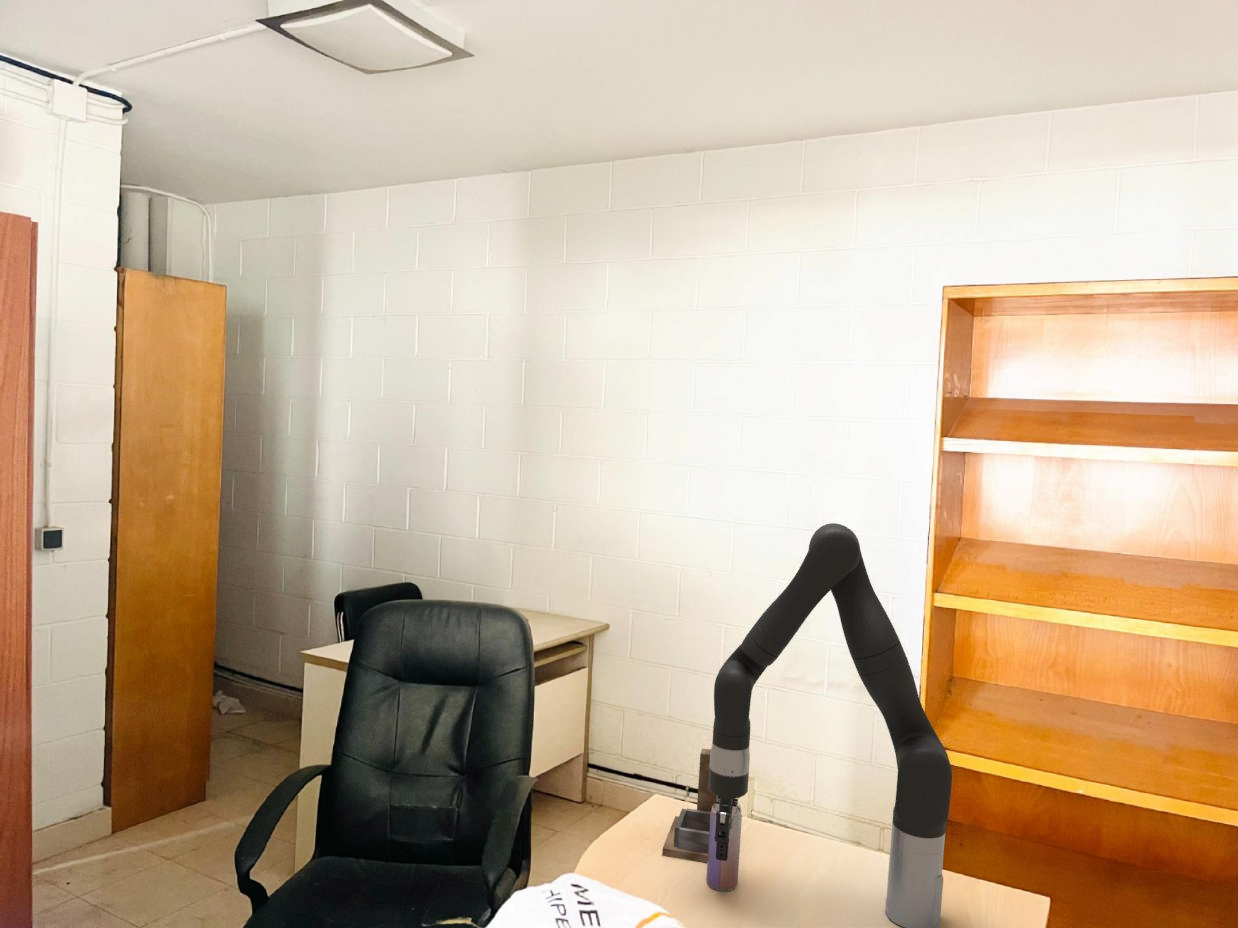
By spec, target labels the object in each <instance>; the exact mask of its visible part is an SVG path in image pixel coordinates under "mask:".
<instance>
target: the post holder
mask: <svg viewBox="0 0 1238 928" xmlns="http://www.w3.org/2000/svg"><path fill="white" fill-rule="evenodd" d="M710 753H711V749H709V748H701V751H700V755H699V770H698V787H697V803H696V805H697V806H696V809H694V808H688V807H687V808H682V809H681V811H680V812H679V813H680V814H679V815H678V816H677V815H675V816H674V818H673V822H672V823H671V826H670V828H669V831H668V834H667V835H666V838H665V842H664V844H663V845H662V851H661V853H662V856H665V857H670V858H675V859H682V860H687V861H693V862H699V863H700V862H701V863H705V864H707V862H708V847H709V831H710V815H711V810H712V806H713V805H714V804H716V801H717V798H718V795H716V794H714V793H712V792H711V791H710V790H709V787H708V783H709V767H710Z"/></svg>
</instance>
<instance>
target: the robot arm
mask: <svg viewBox="0 0 1238 928" xmlns="http://www.w3.org/2000/svg"><path fill="white" fill-rule="evenodd" d="M829 592H831V595H832V597H833V598H834V601H835V604H836V607H837V610H838V615H839V620H840V623H841V628H842V632H843V636H844V639H845V643H846V646H847V647H848V648H847V649H848V651H849V655H850V657H851V659H852V662H853V663H854V666H855V669H856V670H857V671H856V672H857V674H858V676H859V678H860V680H861V682H862V684H863V685H864V687H865V689H866V691H867V693H868V694H869V696H870V697H871V699H872V701H873V702H874V703H875V705H876V706H877V708H878V710H879V711H880V713H881V715H882V717H883V719H884V722H885V724H886V727H887V730H888V733H889V735H890V740H891V742H892V746H893V749H894V753H895V759H896V765H897V778H896V779H897V780H896V788H895V789H896V791H895V802H894V807H893V811H892V822H891V835H890V836H891V837H890V845H889V846H890V848H889V860H888V861H889V862H888V871H887V886H886V887H887V888H886V896H885V897H886V898H885V911H884V912H885V914H886V917H887V918H888V919H890V921H892V922H893V923H894V924H896V925H898V926H900V927H903V928H940V927H941V926H940V925H941V914H942V901H943V900H942V899H943V892H944V891H943V890H944V889H943V888H944V876H943V864H944V853H945V851H944V850H945V838H946V827H947V822H948V820H949V814H950V807H951V806H950V805H951V796H952V795H951V794H952V785H953V770H952V769H953V768H952V765H951V762H950V758H949V755H948V752H947V750H946V748H945V746H944V745H943V743H942V742H941V741H940V740H941V739H940V738H939V736H938V735H937V732H936V731H935V729H934V728H933V726H932V725H933V724H932V723H931V722H930V720H929V718H928V716H927V714H926V712H925V709H924V707H923V705H922V703H921V700H920V696H919V693H918V689H917V685H916V680H915V678H914V674H913V672H912V669H911V665H910V663H909V659H908V657H907V654H906V652H905V649H904V647H903V645H902V643H901V641H900V638H899V636H898V634H897V632H896V629H895V628H894V625H893V623H892V622H891V619H890V617H889V615H888V614H887V611H886V610H885V609H884V607H883V604H882V603H881V601H880V599H879V598H878V596H877V594H876V592H875V590H874V588H873V585H872V583H871V579H870V577H869V575H868V571H867V568H866V565H865V562H864V558H863V555H862V551H861V546H860V542H859V539H858V537H857V535H856V534H855V533H854V531H853V530H852V529H850V528H849V527H847V526H845V525H844V524H840V523H836V522H835V523H834V522H832V523H826V524H823V525H822V526H820V527H819V528H817V529H816V530H815V531H814V533H813V535H811V538H810V541H809V545H808V551H807V553H806V555H805V557H804V558H803V560H802V562H801V564H800V566H799V569H798V570H797V572H796V573H795V575H794V577H793V578H792V579H791V581H790V582H789V583H788V585H787V586H786V587H785V589H784V590H782V592H781V593H780V594H779V595H778V596H777V598H776V599H775V600H773V602H772V603H771V604H769V606H768V607H767V608H766V610H764V612H763V613H762V614H761V615H760V617H759V618H758V619H757V621H756V622H755V623H754V625H753V626H752V628H751V629H750V630H749V632H748V633H747V634H746V636H745V637H744V639H743V640H742V642H741V644H740V645H738V647H737V648H736V649H735V650H734V651H733V652H732V653H731V654H730V655H729V657H728V658H727V659H726V660H725V662H723V664H722V666H721V667H720V669H719V670H718V673H717V675H716V677H715V680H714V687H713V710H714V720H713V728H712V729H713V730H712V744H711V753H710V767H709V783H708V787H709V790H710V791H711V792H712V793H714V794H716V795H718V798H717V801H716V806H715V810H716V818H715V826H716V830H715V837H714V839H715V842H717V844H716V859H717V860H722V861H726V860H727V858H728V846H729V841H730V830H732V829H733V825H734V815H735V814H736V810H737V807H739V798H743V797H744V796H745V795H746V794H747V793H748V791H749V790H748V789H749V778H750V776H749V774H750V763H751V761H750V760H751V759H750V758H751V753H750V744H751V743H750V739H751V720H750V712H751V711H750V709H751V699H752V693H753V688H754V686H755V685H756V683H757V681H758V680H759V679H760V677H761V676H762V675H763V673H764V672H765V671H766V669H767V668H768V667H769V666H771V665H772V664H774V662H775V661H777V659H778V657H779V656H780V655H781V654H782V653H783V651H784V650H785V649H786V647H787V646H789V644H790V642H791V641H792V640H793V638H794V636H795V635H796V633H797V632H798V631H799V629H800V628H801V627H802V625H803V624H804V622H805V621H806V619H808V617H809V615H810V614H811V613H812V611H814V609H815V608H816V607H817V606H818V604H819V603H820V602H821V601H822V600H823V599H824V597H826V595H828V593H829ZM731 813H732V814H731ZM730 817H731V823H730ZM720 831H724V832H726V835H722V834H719V833H720Z"/></svg>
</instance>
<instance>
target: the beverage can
mask: <svg viewBox="0 0 1238 928" xmlns="http://www.w3.org/2000/svg"><path fill="white" fill-rule="evenodd" d="M715 806H716V804H714V805H713V806H712V810H711V815H710V831H709V847H708V862H707V863H706V864H707V865H706V866H707V867H706V881H707V883H708V886H709V887H710V888H712V889H713V890H716V891H720V892H730V891H732V890H734V889H735V888H736V887H737V885H738V883H739V880H738V879H739V865H740V848H741V838H742V837H741V836H742V835H741V834H742V822H743V821H742V819H743V815H742V809H741V807H740V806H738V807H737V810H736V814H735V815H734V825H733V829H732V830H730V841H729V846H728V858H727V860H726V861H722V860H717V859H716V844H717V842H715V839H714V837H715V830H716V826H715V818H716V810H715ZM731 814H732V813H731ZM730 823H731V817H730ZM719 834H722V835H726V832H724V831H720V833H719Z"/></svg>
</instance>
